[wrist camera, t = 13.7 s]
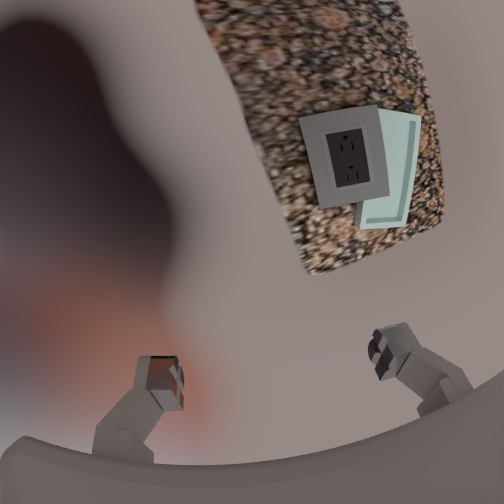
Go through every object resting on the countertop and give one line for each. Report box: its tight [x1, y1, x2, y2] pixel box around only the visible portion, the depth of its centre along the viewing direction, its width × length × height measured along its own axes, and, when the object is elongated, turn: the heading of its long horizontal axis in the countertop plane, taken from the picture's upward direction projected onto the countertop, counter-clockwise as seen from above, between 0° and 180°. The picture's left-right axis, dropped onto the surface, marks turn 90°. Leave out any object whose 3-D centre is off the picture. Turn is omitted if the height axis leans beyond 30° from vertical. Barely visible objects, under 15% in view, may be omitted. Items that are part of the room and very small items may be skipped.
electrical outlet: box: [298, 104, 390, 209], centre depth 34 cm, size 13×10×2 cm
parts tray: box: [354, 108, 421, 230], centre depth 36 cm, size 18×9×2 cm, turn 2°
